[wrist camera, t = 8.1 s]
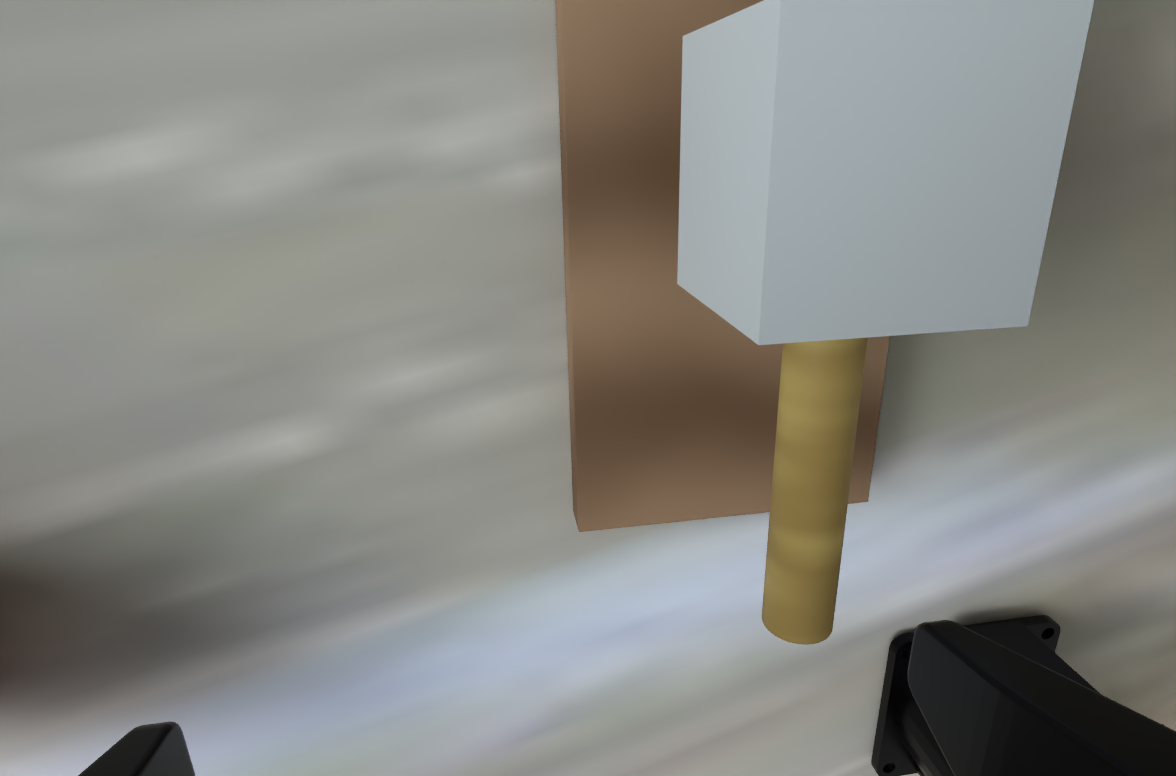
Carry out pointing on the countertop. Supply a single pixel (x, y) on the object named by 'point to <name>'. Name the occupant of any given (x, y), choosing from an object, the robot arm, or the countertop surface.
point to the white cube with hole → (873, 163)
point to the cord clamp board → (690, 334)
